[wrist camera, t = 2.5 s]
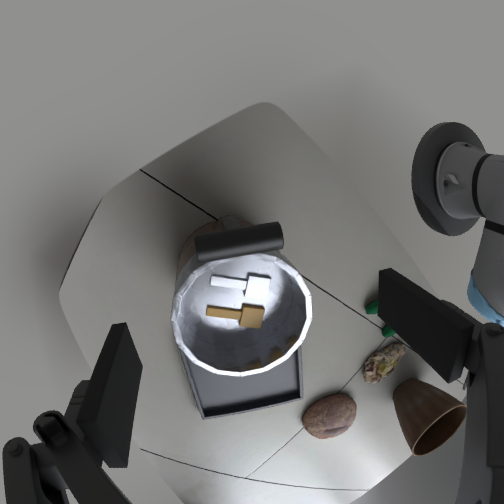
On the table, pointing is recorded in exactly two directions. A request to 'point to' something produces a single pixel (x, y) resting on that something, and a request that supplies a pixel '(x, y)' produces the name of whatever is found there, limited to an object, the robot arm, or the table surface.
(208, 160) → the table surface
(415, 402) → the flower pot
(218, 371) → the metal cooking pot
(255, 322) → the brass key
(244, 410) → the tray
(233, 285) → the silver key
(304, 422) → the decorative stone
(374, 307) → the gaming controller
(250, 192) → the table surface
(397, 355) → the mineral rock
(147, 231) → the table surface
